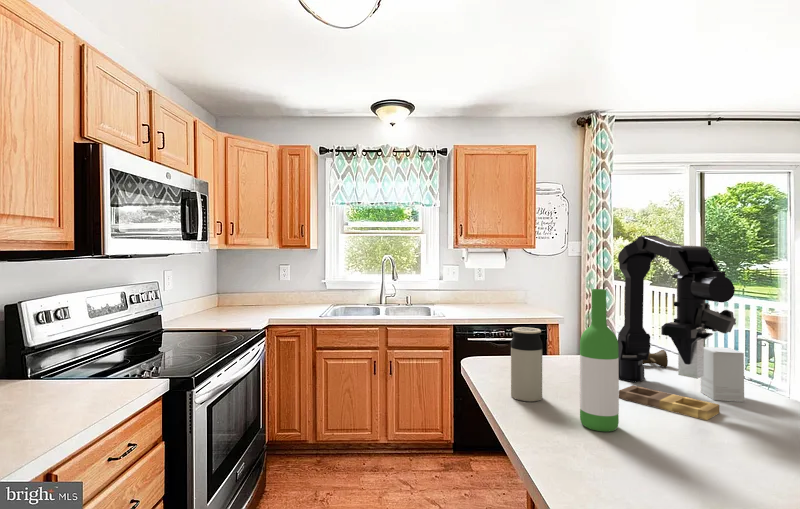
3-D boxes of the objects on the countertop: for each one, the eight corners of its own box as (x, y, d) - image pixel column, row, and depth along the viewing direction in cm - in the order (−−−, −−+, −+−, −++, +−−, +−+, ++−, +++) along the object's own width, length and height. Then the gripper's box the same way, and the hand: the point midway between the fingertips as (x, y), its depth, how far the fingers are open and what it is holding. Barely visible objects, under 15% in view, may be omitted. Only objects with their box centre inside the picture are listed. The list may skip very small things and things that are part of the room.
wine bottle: (572, 425, 97) (572, 289, 97) (591, 417, 102) (591, 287, 102) (607, 436, 91) (607, 291, 91) (625, 427, 96) (625, 289, 96)
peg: (678, 375, 107) (678, 337, 107) (685, 372, 109) (684, 336, 109) (697, 378, 103) (697, 340, 103) (703, 375, 106) (703, 338, 106)
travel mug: (546, 402, 112) (546, 331, 112) (515, 402, 112) (515, 331, 113) (537, 392, 120) (537, 327, 120) (507, 392, 120) (507, 326, 120)
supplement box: (745, 402, 113) (745, 353, 113) (712, 400, 114) (712, 351, 114) (729, 393, 120) (729, 347, 120) (699, 391, 121) (699, 346, 122)
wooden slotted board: (618, 398, 116) (618, 390, 116) (633, 392, 121) (633, 385, 121) (706, 420, 100) (706, 411, 100) (719, 412, 105) (719, 404, 105)
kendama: (654, 360, 162) (672, 371, 143) (626, 359, 165) (639, 370, 146) (654, 343, 163) (671, 353, 143) (625, 343, 165) (638, 352, 146)
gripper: (716, 303, 94) (716, 376, 94) (744, 298, 105) (744, 363, 105) (660, 299, 103) (660, 366, 103) (691, 295, 114) (691, 355, 114)
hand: (691, 362), depth 106 cm, fingers closed on peg, 4 cm apart
